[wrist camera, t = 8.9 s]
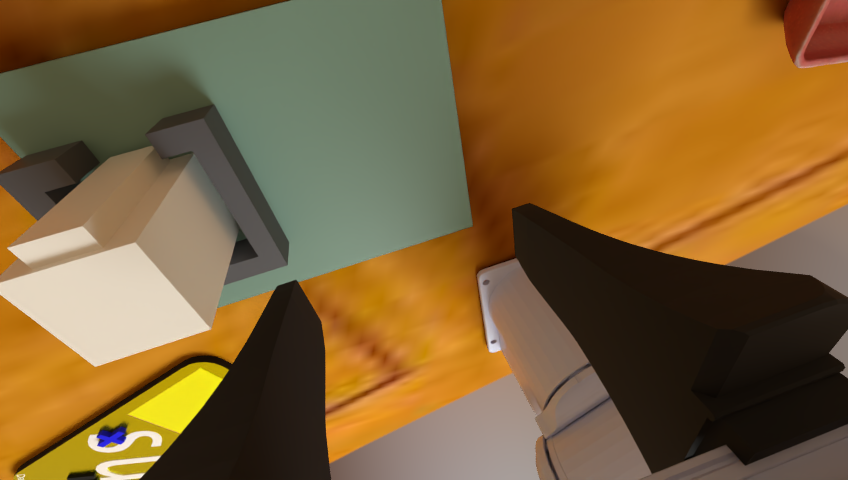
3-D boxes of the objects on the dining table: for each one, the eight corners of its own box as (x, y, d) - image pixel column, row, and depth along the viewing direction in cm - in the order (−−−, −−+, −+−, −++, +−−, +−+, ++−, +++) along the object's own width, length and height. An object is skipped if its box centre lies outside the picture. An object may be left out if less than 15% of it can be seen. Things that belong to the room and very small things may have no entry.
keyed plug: (240, 224, 18) (211, 329, 13) (160, 249, 18) (95, 366, 13) (184, 135, 16) (115, 219, 10) (87, 161, 15) (-39, 265, 10)
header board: (467, 217, 23) (485, 244, 21) (180, 308, 22) (164, 349, 19) (429, -36, 15) (451, -39, 13) (-28, 79, 14) (-98, 100, 11)
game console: (199, 339, 24) (194, 358, 23) (314, 400, 31) (315, 417, 29) (10, 467, 26) (-4, 490, 25) (156, 498, 33) (150, 517, 32)
